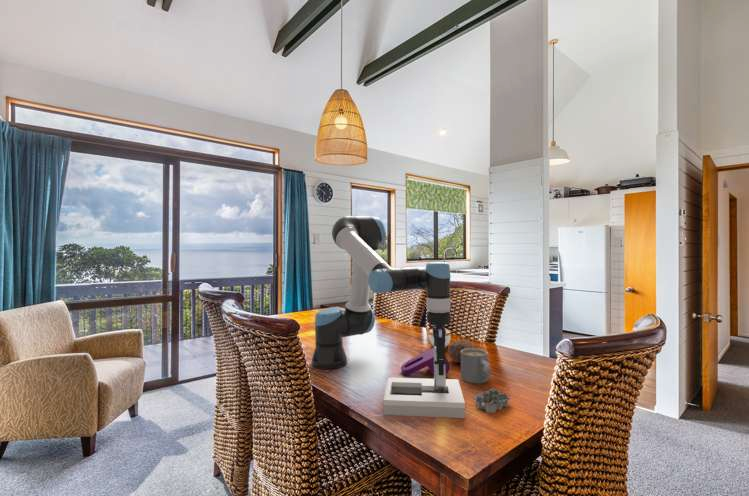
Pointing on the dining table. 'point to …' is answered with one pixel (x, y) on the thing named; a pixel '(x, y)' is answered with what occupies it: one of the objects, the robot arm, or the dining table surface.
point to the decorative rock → (458, 349)
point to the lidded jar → (447, 337)
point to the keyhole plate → (423, 398)
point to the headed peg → (436, 387)
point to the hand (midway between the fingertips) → (439, 376)
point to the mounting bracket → (422, 363)
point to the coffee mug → (474, 365)
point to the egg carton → (497, 400)
